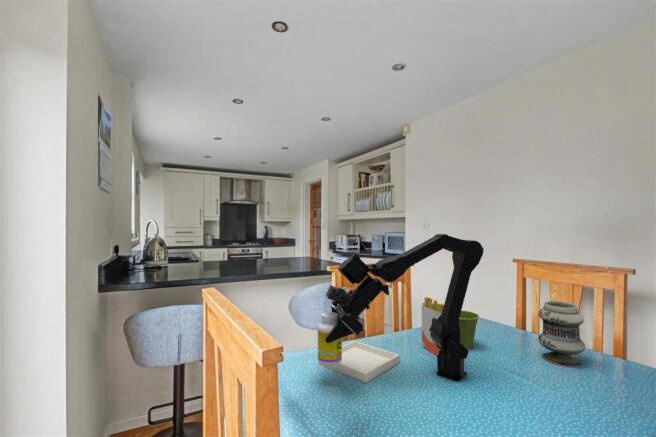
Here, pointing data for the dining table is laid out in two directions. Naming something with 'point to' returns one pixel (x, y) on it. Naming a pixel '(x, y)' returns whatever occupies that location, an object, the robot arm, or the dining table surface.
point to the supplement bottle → (328, 351)
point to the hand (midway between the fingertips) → (324, 337)
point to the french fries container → (430, 323)
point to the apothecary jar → (561, 333)
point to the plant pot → (467, 328)
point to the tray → (364, 361)
